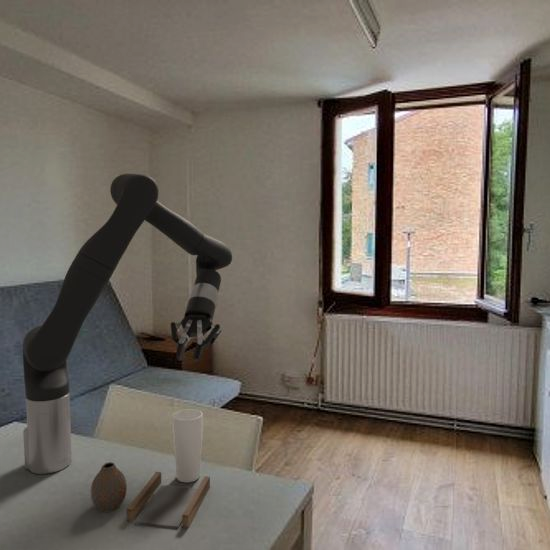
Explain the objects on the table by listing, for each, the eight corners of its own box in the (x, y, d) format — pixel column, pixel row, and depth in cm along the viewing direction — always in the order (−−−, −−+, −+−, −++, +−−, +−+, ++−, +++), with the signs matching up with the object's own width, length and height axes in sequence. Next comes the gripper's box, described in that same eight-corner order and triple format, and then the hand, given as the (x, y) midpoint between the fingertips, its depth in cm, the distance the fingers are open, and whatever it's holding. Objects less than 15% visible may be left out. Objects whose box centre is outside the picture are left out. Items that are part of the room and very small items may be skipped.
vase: (99, 495, 98) (98, 456, 97) (131, 496, 98) (131, 457, 97) (85, 515, 91) (84, 473, 91) (120, 517, 91) (119, 474, 90)
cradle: (125, 522, 90) (125, 510, 89) (156, 482, 104) (156, 471, 104) (187, 529, 88) (187, 517, 87) (209, 487, 102) (209, 476, 102)
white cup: (206, 470, 109) (206, 409, 107) (198, 486, 102) (198, 421, 101) (178, 469, 110) (177, 407, 108) (168, 484, 103) (168, 419, 101)
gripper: (173, 294, 125) (156, 350, 114) (225, 296, 123) (211, 353, 112) (180, 310, 130) (164, 365, 120) (229, 312, 128) (217, 368, 118)
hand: (187, 359), depth 116 cm, fingers open, 3 cm apart
